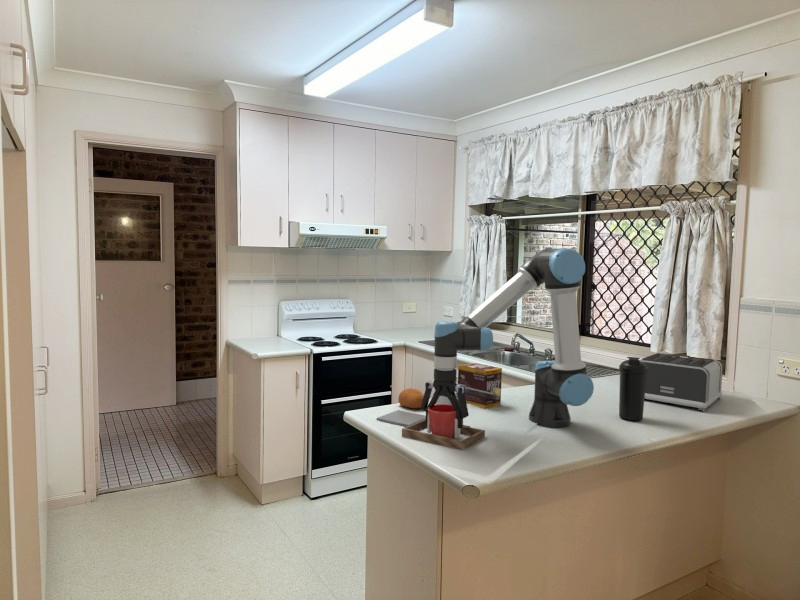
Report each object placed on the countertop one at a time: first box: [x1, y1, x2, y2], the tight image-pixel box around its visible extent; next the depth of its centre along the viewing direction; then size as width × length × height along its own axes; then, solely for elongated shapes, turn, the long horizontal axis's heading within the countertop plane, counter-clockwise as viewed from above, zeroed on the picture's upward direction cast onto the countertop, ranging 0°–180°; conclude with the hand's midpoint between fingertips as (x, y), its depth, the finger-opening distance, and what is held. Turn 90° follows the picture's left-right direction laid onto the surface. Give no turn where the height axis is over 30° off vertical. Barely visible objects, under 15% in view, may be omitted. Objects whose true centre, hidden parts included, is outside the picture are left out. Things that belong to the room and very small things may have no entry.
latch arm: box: [455, 383, 502, 400], centre depth 189 cm, size 4×19×4 cm, turn 43°
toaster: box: [639, 352, 724, 411], centre depth 250 cm, size 31×36×18 cm
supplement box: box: [457, 362, 503, 410], centre depth 232 cm, size 10×15×16 cm
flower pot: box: [428, 404, 457, 439], centre depth 187 cm, size 11×11×10 cm
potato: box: [398, 387, 424, 410], centre depth 222 cm, size 9×11×8 cm
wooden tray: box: [401, 418, 486, 451], centre depth 187 cm, size 23×16×2 cm
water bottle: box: [618, 356, 648, 421], centre depth 216 cm, size 10×10×23 cm
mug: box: [435, 391, 456, 405], centre depth 219 cm, size 11×8×9 cm
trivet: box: [376, 409, 426, 427], centre depth 206 cm, size 14×14×1 cm
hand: (443, 434), depth 187 cm, fingers closed on flower pot, 10 cm apart
